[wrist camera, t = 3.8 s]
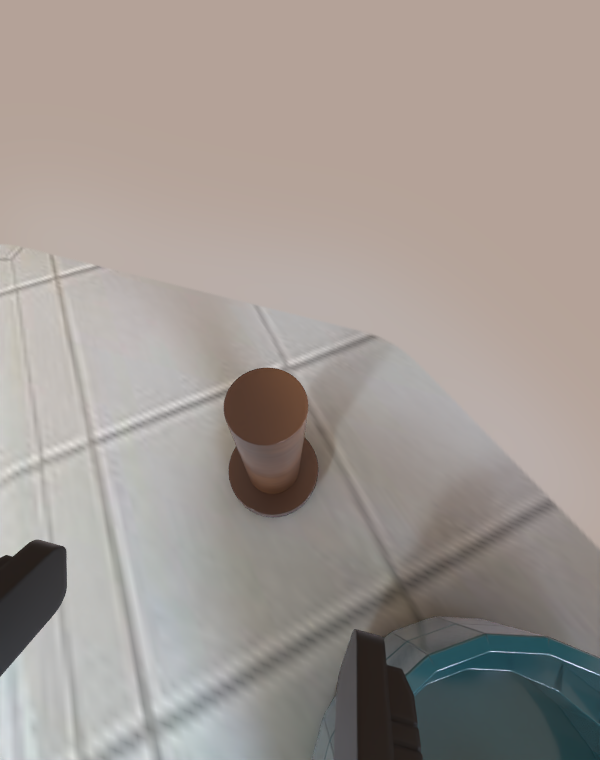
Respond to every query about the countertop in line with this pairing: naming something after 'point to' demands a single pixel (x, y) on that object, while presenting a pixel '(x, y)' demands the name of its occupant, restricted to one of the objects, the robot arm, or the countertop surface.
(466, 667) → the bowl
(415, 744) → the robot arm
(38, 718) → the countertop surface
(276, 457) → the brown wooden peg
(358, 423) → the countertop surface
